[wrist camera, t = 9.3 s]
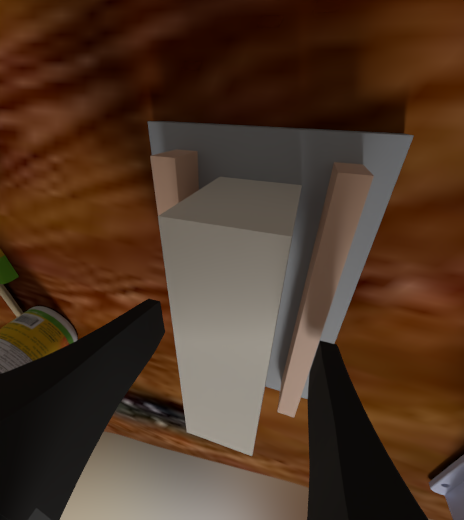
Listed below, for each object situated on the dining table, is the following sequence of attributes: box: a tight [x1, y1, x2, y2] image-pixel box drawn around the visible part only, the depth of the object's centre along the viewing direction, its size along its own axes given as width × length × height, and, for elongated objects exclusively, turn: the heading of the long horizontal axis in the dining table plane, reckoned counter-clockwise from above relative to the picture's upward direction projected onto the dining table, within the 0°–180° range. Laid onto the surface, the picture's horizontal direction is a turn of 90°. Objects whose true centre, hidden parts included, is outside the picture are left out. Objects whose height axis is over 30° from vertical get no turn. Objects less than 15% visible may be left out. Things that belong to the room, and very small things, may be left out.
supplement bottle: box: [0, 306, 77, 374], centre depth 20 cm, size 5×5×10 cm
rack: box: [147, 121, 413, 417], centre depth 13 cm, size 16×10×3 cm, turn 178°
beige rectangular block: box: [158, 177, 302, 456], centre depth 11 cm, size 12×4×5 cm, turn 178°
